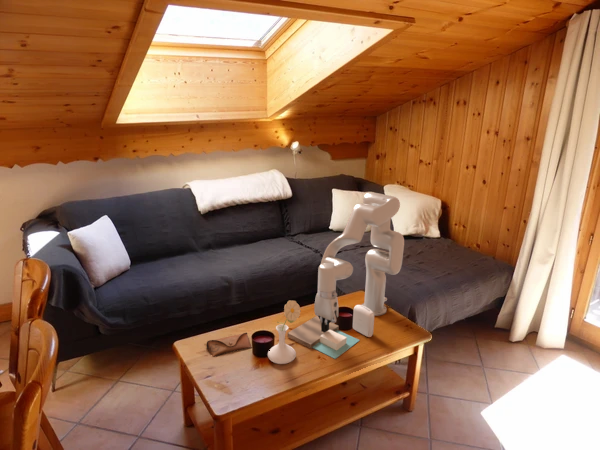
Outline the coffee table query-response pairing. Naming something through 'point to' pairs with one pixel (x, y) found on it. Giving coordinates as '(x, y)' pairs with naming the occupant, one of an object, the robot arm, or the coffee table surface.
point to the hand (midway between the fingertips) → (325, 330)
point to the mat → (337, 353)
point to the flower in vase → (282, 350)
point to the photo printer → (363, 320)
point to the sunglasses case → (228, 344)
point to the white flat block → (333, 339)
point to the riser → (310, 332)
